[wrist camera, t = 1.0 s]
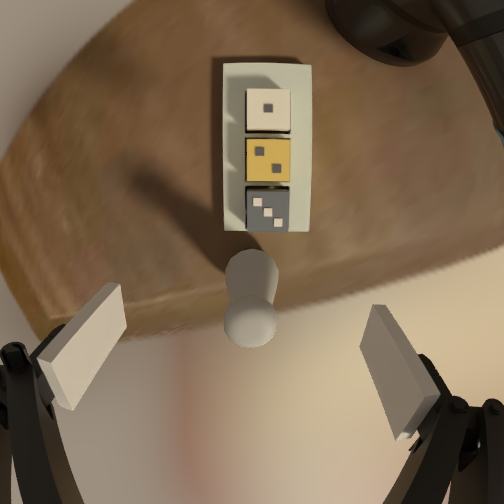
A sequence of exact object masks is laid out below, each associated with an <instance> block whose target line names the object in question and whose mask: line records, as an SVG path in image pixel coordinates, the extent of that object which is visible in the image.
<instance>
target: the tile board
mask: <svg viewBox="0 0 504 504" xmlns="http://www.w3.org/2000/svg"><path fill="white" fill-rule="evenodd" d="M247 89H290V130H289V134H245V94H247ZM245 138H281V139H289V140H290V182H288V181H247V180H245ZM311 164H312V78H311V65H302V64H285V63H224V64H223V193H224V231H247V226H246V212H245V186H288V191H289V218H288V231H309V219H310V196H311Z"/></svg>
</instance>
